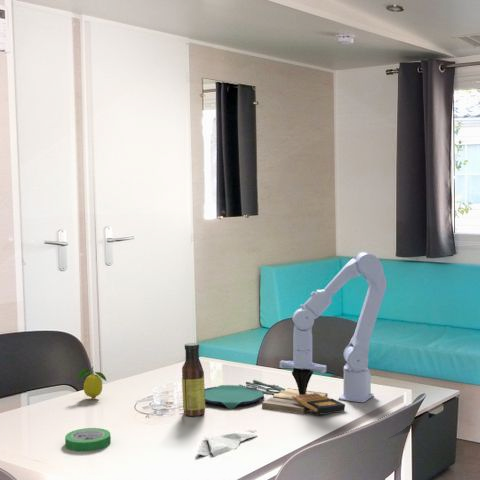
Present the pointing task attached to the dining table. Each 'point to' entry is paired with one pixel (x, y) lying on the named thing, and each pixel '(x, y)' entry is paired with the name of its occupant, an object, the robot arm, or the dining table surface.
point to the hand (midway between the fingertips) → (302, 393)
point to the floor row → (284, 405)
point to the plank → (294, 394)
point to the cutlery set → (238, 394)
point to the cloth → (223, 443)
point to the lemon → (92, 383)
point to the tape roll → (78, 443)
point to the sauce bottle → (193, 382)
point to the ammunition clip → (319, 403)
